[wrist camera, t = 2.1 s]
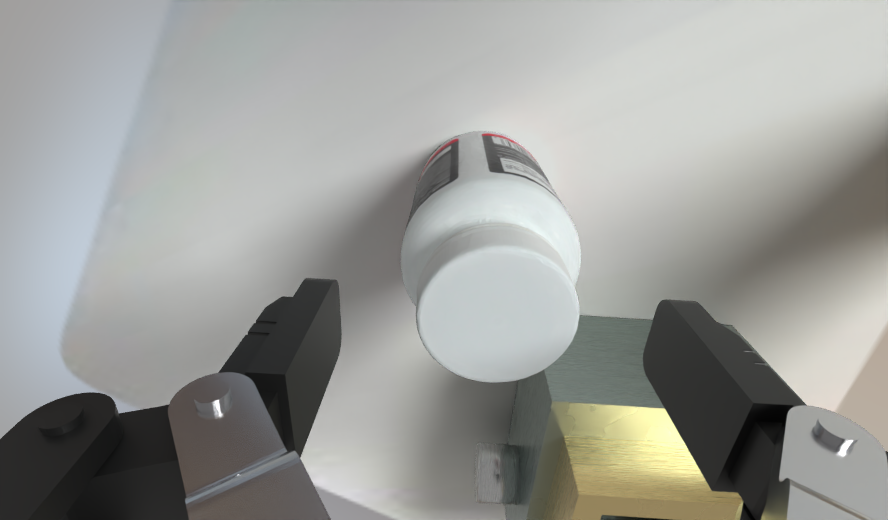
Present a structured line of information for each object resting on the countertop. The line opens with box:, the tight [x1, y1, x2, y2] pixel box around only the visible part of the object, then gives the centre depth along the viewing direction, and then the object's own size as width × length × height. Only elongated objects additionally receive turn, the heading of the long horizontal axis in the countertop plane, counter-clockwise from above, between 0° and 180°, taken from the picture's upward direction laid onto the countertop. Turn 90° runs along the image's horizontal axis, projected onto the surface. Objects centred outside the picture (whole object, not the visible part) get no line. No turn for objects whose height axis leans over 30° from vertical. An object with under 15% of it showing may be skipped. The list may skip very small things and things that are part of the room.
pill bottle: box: [401, 131, 581, 383], centre depth 15 cm, size 5×5×10 cm
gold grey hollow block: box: [475, 315, 800, 520], centre depth 21 cm, size 12×12×8 cm
